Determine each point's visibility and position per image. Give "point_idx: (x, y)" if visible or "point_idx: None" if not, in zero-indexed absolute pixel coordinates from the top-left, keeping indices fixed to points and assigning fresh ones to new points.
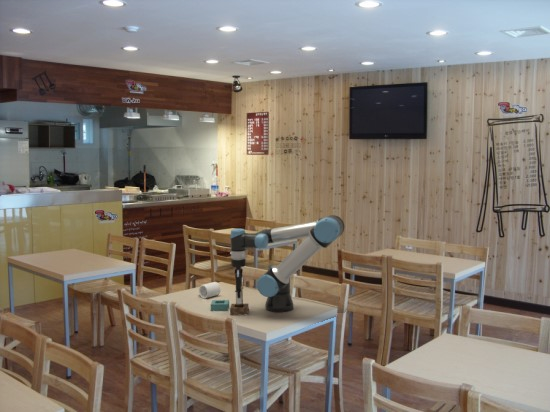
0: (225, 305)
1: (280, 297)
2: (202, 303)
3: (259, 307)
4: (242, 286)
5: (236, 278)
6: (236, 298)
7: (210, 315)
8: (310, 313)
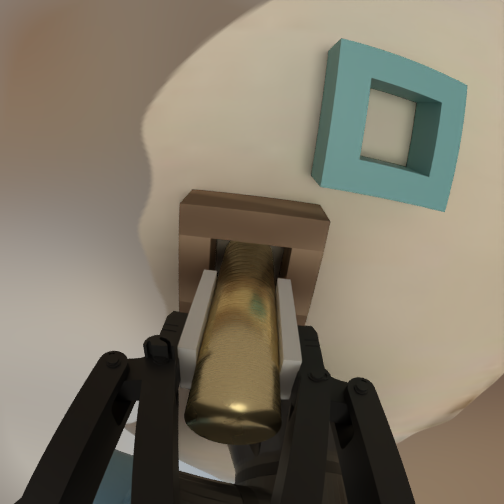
0: (320, 165)
1: (235, 468)
2: (497, 50)
3: (331, 358)
4: (223, 438)
5: (32, 492)
6: (194, 298)
7: (202, 47)
8: (201, 458)
